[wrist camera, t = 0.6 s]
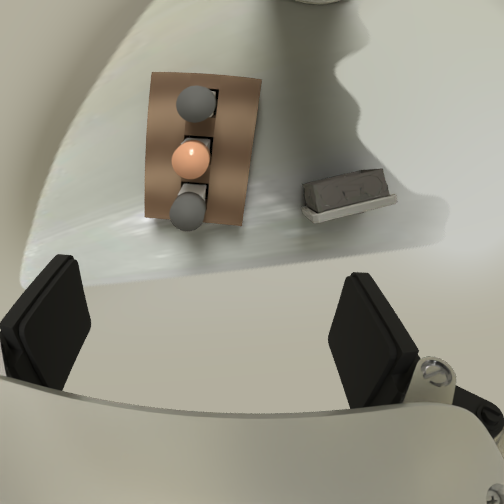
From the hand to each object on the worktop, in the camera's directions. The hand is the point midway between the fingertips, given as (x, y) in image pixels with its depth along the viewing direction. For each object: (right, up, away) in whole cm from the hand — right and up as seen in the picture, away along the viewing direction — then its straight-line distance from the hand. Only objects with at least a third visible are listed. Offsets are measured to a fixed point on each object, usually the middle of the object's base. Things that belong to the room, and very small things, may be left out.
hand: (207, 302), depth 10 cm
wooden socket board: (-4, +14, +23) cm, 28 cm away
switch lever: (-3, +17, +18) cm, 25 cm away
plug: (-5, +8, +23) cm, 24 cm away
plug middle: (-4, +12, +20) cm, 24 cm away
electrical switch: (+11, +10, +27) cm, 31 cm away
